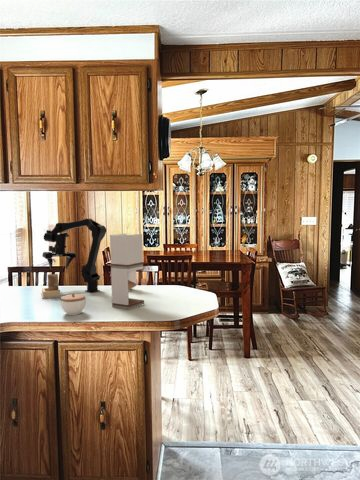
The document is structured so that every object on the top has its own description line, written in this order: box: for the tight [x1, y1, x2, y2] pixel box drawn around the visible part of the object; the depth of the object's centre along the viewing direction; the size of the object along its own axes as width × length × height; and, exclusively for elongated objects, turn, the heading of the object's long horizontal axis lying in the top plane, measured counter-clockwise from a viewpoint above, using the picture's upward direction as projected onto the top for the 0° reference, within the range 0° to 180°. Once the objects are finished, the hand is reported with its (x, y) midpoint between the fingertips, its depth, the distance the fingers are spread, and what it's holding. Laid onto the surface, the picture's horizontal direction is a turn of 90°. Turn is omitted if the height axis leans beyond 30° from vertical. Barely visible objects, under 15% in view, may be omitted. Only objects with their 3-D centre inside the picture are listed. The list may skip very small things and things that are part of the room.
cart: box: [47, 273, 59, 291], centre depth 205 cm, size 5×6×11 cm
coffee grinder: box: [109, 233, 145, 311], centre depth 178 cm, size 11×11×35 cm
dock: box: [40, 287, 64, 300], centre depth 205 cm, size 11×12×4 cm
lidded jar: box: [60, 292, 86, 316], centre depth 167 cm, size 11×11×9 cm
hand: (58, 269), depth 220 cm, fingers open, 9 cm apart
